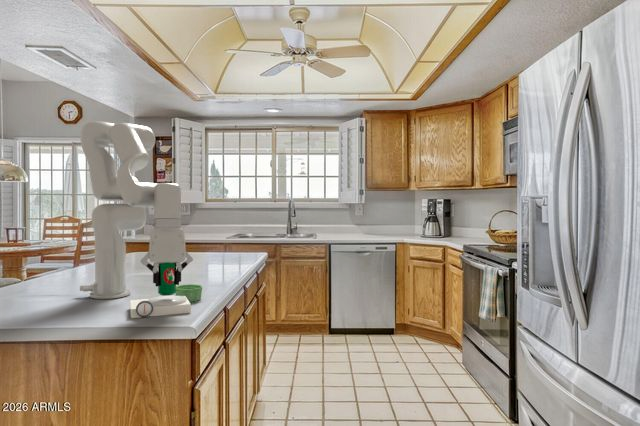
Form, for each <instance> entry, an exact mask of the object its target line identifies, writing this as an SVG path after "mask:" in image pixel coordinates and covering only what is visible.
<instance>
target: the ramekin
mask: <svg viewBox="0 0 640 426" xmlns="http://www.w3.org/2000/svg"><path fill="white" fill-rule="evenodd" d="M202 291H203V285H201V284H197V283H196V284H195V283H194V284H191V283H190V284H189V283H188V284H179V285H176V293H175V294H174V296H186V298H187V299H188V301H189V302H190V303H192V302H193V303H194V302H198V301H200V300H201V299H202V293H203V292H202Z"/></svg>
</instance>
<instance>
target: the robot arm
mask: <svg viewBox="0 0 640 426" xmlns="http://www.w3.org/2000/svg"><path fill="white" fill-rule="evenodd" d="M155 135H156V134H154V131H153V130H152V129H151V128H150V127H148V126H145V125H139V124H133V123H129V122H117V123H113V122H108V121H101V120H92V121H87V122H86V123H84V125H83V126H82V127H81V131H80V145H81V148H82V151H83V154H84V156H85V159H86V161H87V165H88V170H89V171H88V172H89V177H90V184H91V189H92V194H93V196H94V198H95V199H96V200H98V201H104V202H123V203H102V204H98V205H97V206H95V207H94V208H93V210H92V212H91V220H92V221H91V222H92V223H91V224H92V227H93V235H94V282H93V283H91V284H89V285H87V284H83V285H79V291H80V292H84V293H85V292H90V293H89V297H90V298H91V299H97V300H98V299H99V300H108V299H117V298H118V299H119V298H124V297H127V296H129V295H131V290H130V288H129V289H128V288H127V285H126V284H127V283H126V282H127V277H126V276H127V274H126V273H127V270H126V269H127V260H126V259H127V257H126V256H127V244H126V241H125V239H124V238H123V236H122V235H121V233H120V232H126V231H127V232H128V231H138V230H141V229H142V228H144V227H145V224H146V223H147V212H146V208H153V219H151V220H148V225H149V226H152V227H153V228H151V230H150V233H149V234H150V235H149V243H148V244H149V245H148V246H149V247H148V251H147V252H146V254H145V255H144V256H143V257H142V258H141V259H140V263H141V264H142V265H143V266H145V267H146V268H147V269H148V270H150V271H151V272H152V283H153V284H155V287H158V286H159V273H158V266H159V263H176V286H179V285H180V283H181V282H182V271H183V270H184V269H185V268H187V266H188V265H190V263H192V262H193V261H194V259H193V257H192V256H191V255H190V254H189V252H188V251H187V250H186V235H185V230H184V228H181V225H182V224H181V223H182V220H181V218H182V212H181V211H182V210H181V209H182V207H181V206H182V187H181V186H180V184H178V183H174V182H171V183H170V182H160V183H157V182H155V183H154V182H144V181H142V182H141V181H139V180H138V178H136V177H135V176H133V173H136V172H138V171H141V170H143V169H144V168H145V167H147V166H148V164H149V162H150V155H149V153H148V152H149V151H152V150H153V148H154V147H155V145H156V136H155ZM105 147H106V148H111V149H112V148H113V149H114V150H115V152H116V154H117V156H118V159H119V161H120V163H121V164H120V165H119V167H118V169H117V165H116V161H115V159H114V157H113V156H112V154H111V153H110V152H109V151H108V150H107V149H106V148H105ZM148 260H149V261H150V262H148ZM151 263H152V264H153V265H152V264H151Z"/></svg>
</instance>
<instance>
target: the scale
mask: <svg viewBox="0 0 640 426" xmlns="http://www.w3.org/2000/svg"><path fill="white" fill-rule="evenodd" d="M191 305H192V304H191V302H189V301H188V299H187V298H186V296H175V295H167V296H163V295H159V296H155V297H151V298H140V299H130V300H129V309H130V310H129V311H130V319H138V318H147V317H149V316H150V317H157V316H158V317H159V316H170V315H178V314H180V315H181V314H189V313H190V314H191V312H192V311H191V310H192V309H191V308H192V307H191Z"/></svg>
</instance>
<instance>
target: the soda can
mask: <svg viewBox="0 0 640 426" xmlns="http://www.w3.org/2000/svg"><path fill="white" fill-rule="evenodd" d="M176 269H177V266H176V263H159V266H158V269H157V270H158V273H159V286H157V293H158V294H159V296H174V295H175V293H176V286H177V285H176Z"/></svg>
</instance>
